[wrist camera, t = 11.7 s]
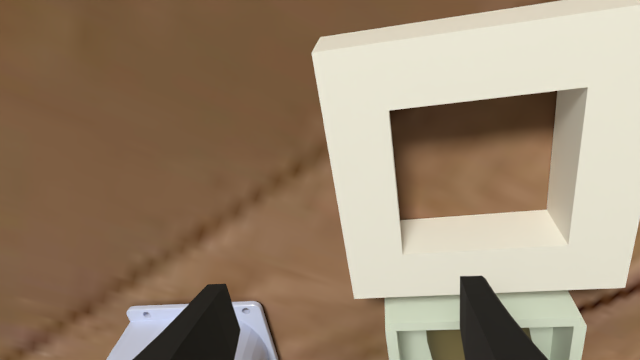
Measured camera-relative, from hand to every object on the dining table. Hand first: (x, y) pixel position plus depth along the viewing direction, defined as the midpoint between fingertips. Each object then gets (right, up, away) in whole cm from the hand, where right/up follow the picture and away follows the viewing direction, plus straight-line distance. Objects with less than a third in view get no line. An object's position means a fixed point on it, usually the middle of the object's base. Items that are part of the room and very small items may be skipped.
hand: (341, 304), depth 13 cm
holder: (+7, +5, +8) cm, 12 cm away
